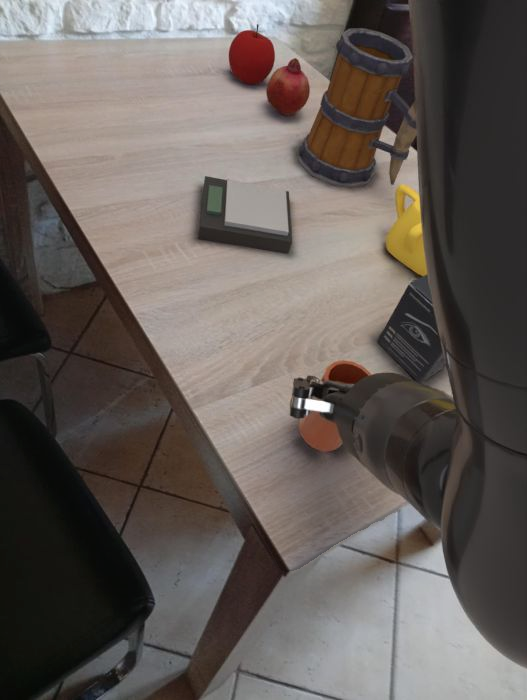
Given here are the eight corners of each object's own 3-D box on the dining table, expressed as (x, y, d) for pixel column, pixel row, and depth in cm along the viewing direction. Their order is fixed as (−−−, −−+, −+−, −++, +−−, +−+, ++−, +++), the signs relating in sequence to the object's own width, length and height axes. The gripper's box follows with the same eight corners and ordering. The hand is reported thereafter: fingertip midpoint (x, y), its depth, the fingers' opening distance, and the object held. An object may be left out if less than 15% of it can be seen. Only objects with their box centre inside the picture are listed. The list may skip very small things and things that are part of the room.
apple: (215, 74, 105) (223, 19, 97) (243, 64, 110) (252, 12, 103) (251, 95, 103) (262, 40, 95) (277, 84, 108) (290, 31, 101)
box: (445, 368, 67) (490, 312, 59) (417, 385, 65) (460, 329, 56) (402, 326, 71) (439, 267, 62) (374, 340, 68) (409, 281, 60)
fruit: (309, 115, 103) (325, 62, 95) (290, 129, 98) (305, 74, 90) (275, 97, 104) (287, 44, 96) (254, 110, 99) (265, 55, 91)
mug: (410, 186, 94) (466, 73, 79) (366, 213, 86) (420, 92, 70) (328, 132, 100) (366, 17, 85) (279, 153, 91) (312, 29, 76)
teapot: (375, 218, 85) (401, 162, 77) (448, 233, 87) (480, 180, 79) (384, 276, 77) (414, 219, 69) (465, 291, 78) (503, 238, 71)
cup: (300, 448, 55) (327, 402, 48) (297, 406, 58) (322, 357, 51) (347, 453, 55) (380, 408, 49) (342, 411, 59) (372, 364, 52)
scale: (197, 238, 73) (200, 221, 71) (203, 188, 80) (205, 171, 78) (288, 253, 75) (293, 237, 73) (285, 203, 83) (290, 186, 80)
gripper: (506, 393, 38) (406, 361, 55) (317, 369, 36) (273, 343, 52) (487, 492, 39) (394, 431, 56) (300, 475, 36) (262, 416, 53)
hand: (335, 388), depth 54 cm, fingers closed on cup, 5 cm apart
